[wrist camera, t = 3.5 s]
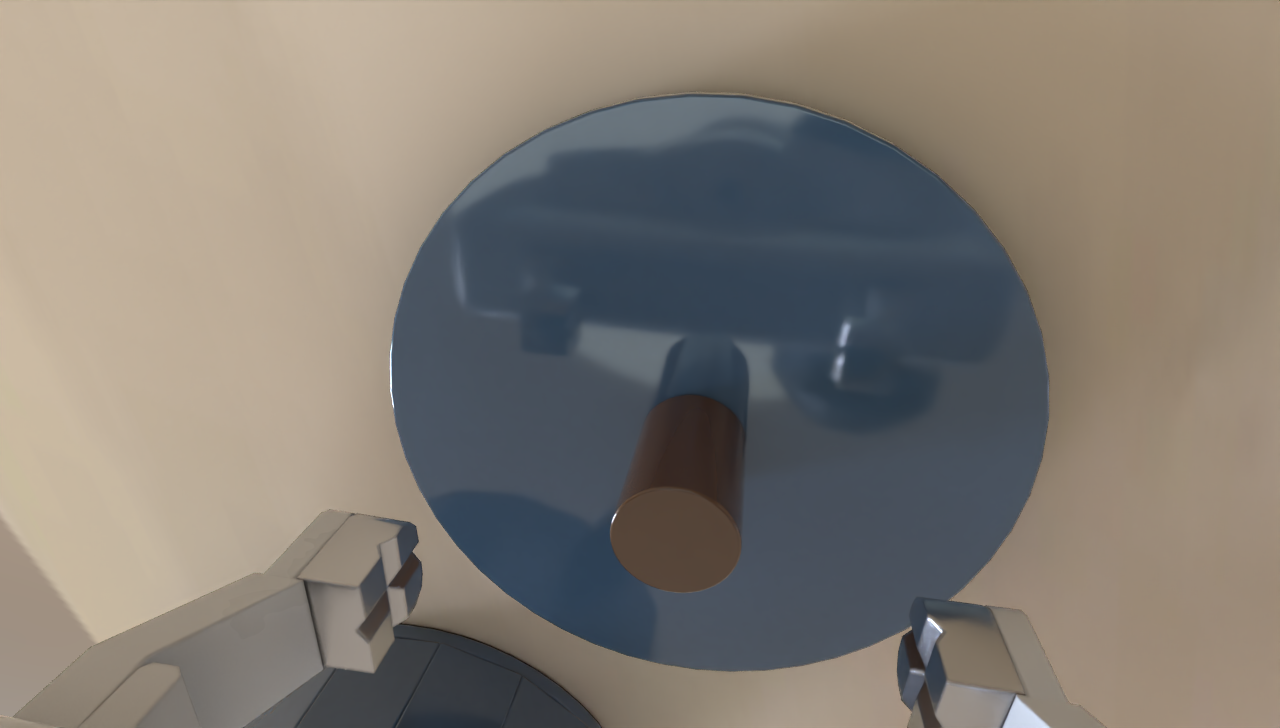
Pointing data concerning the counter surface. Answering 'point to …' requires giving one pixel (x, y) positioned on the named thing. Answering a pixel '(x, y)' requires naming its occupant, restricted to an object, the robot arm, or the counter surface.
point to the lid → (719, 381)
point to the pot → (430, 691)
